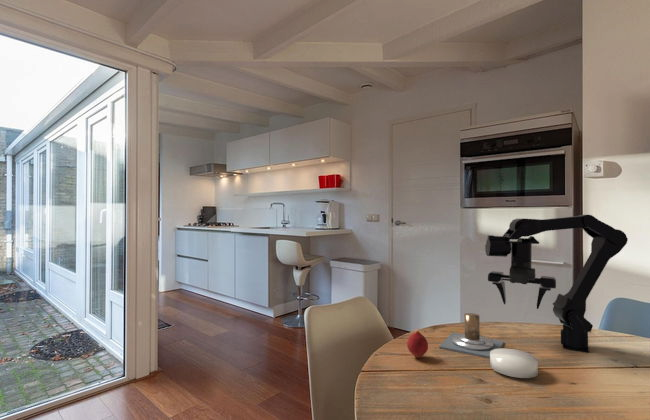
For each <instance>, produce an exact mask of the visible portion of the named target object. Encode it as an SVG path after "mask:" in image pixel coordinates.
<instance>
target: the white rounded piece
mask: <svg viewBox="0 0 650 420" xmlns="http://www.w3.org/2000/svg"><path fill="white" fill-rule="evenodd" d="M538 362H539V360H538V358H537V357H536V356H535V355H533V354H531V353H528V352H526V351H523V350H520V349H513V348H503V347H502V348H500V349H494V350H492V351H490V358H489V366H490V368H491V369H492V370H494V371H495V372H497V373H498V374H502V375H505V376H509V377H512V378H520V379H531V378H535V377H537V376H538V374H539V369H538V368H539V365H538Z"/></svg>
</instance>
